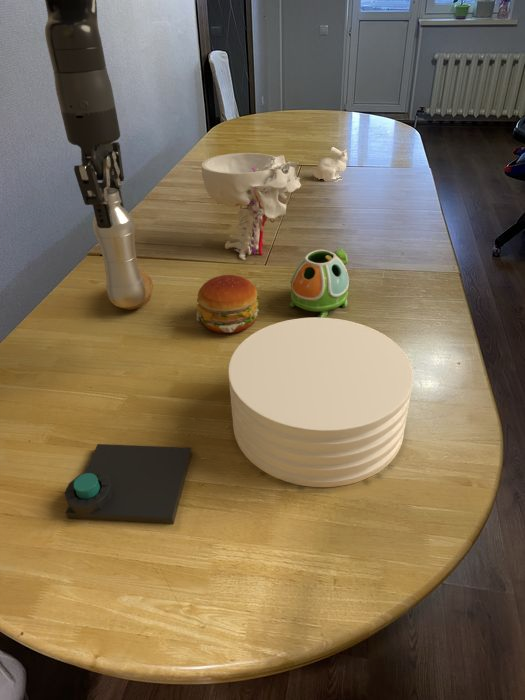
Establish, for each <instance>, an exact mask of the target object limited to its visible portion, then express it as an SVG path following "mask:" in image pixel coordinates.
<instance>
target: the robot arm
mask: <svg viewBox="0 0 525 700" xmlns="http://www.w3.org/2000/svg"><path fill="white" fill-rule="evenodd" d="M44 1H45V8H46V13H47V21H46V24H45V26H44V37H45V41H46V47H47V51H48V55H49V58H50V65H51V68H52V71H53V79H54V86H55V92H56V96H57V97H56V98H57V102H58V106H59V109H60V114H61V117H62V122H63V126H64V130H65V134H66V139H67V141H68V142H69V144H71V145H74V146H77V147H78V148H80V154H81V159H80V160H81V164H80V165H79V164H78V165H77V164H76V165H74V166H73V171H74V175H75V177H76V181H77V184H78V188H79V190H80V194H81V196H82V197H81V198H82V200H83V203H84V205H85V206H92V207H93V212H94V217H96V221H97V225H98V227H99V228H111V226H112V225H113V223H112V218H111V213H110V209H109V204H108V196H107V189H108V188H115V189H118V191H119V196H120V198H121V203H120V205H121V206H122V207H123V208H124V209H125V207H124V201H123V197H122V190H121V189H122V187H123V184H122V182H124V181H125V174H124V168H123V160H122V152H121V144H120V142H119V141H118V140H119V139H120V137H121V131H120V130H121V129H120V125H119V119H118V114H117V108H116V102H115V98H114V92H113V87H112V82H111V79H110V76H109V73H108V69H107V68H108V67H107V64H106V58H105V53H104V46H103V43H102V42H103V41H102V38H101V34H100V30H99V23H98V22H99V21H98V5H97V0H44ZM99 181H102V182H99ZM100 189H101V191H100Z"/></svg>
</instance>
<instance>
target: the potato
mask: <svg viewBox="0 0 525 700" xmlns="http://www.w3.org/2000/svg"><path fill="white" fill-rule="evenodd" d="M139 269H140V273H141V276H142V278H143V280H144V284H145V287H146V296H145V298H144V300H143V301H142V302H141V303H140V304H138V305H136V306H133V307H126V308H124V307H120V308H121V309H123V310H126V311H127V310H132V311H133V310H137V309H140V308H142V307H143V306H144V305H146V304H147V303H148V302H149V301H150V300H151V298H152V295H153V290H154V283H153V280H152V277H151V276H150V275H149V274H148V272H146V271H145V270H144V269H143V268H141V267H140V266H139Z"/></svg>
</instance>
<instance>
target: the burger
mask: <svg viewBox="0 0 525 700" xmlns="http://www.w3.org/2000/svg"><path fill="white" fill-rule="evenodd" d="M196 302H197V304H196V308H197V311H196V321H197V322H200V320H201V322H202V323H203V325H204V326H205V327H206V328H207V329H208V330H210V331H213V332H216V333H218V334H219V333H222V334H233V333H240V332H242V331H245V330H247V329H249V328H250V327H251V326H253V324H254V323H255V322H256V320H257V317H258V315H259V314H260V311H259V310H260V305H259V295H258V289H257V288H256V286H255V284H253V283H252V282H251V281H250V280H248V279H246V278H245V277H243V276H239V275H235V274H223V275H218V276H215V277H213V278H210V279H208V280H207V281H205V283H203V284H202V285H201V287H200V288H199V290H198V293H197V298H196Z"/></svg>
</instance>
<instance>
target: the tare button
mask: <svg viewBox="0 0 525 700" xmlns="http://www.w3.org/2000/svg"><path fill="white" fill-rule="evenodd" d="M79 475H80V476H79ZM79 475H78V476H79V477H78V478H77V479H76V480H75V481H74V489H75V491H76V494H77V496H78V497H79V498H81V499H90V498H92V497H94V496H95V495H96V494H97V493H98V492H99V490H100V485H99V482H98V479H97V477H96V475H94V474H92V473H86V474H84V473H82V474H79Z"/></svg>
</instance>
